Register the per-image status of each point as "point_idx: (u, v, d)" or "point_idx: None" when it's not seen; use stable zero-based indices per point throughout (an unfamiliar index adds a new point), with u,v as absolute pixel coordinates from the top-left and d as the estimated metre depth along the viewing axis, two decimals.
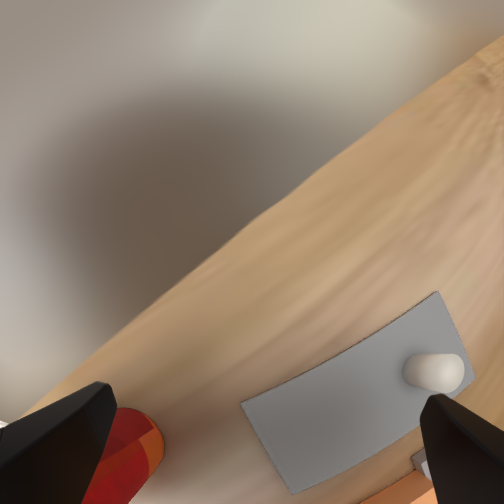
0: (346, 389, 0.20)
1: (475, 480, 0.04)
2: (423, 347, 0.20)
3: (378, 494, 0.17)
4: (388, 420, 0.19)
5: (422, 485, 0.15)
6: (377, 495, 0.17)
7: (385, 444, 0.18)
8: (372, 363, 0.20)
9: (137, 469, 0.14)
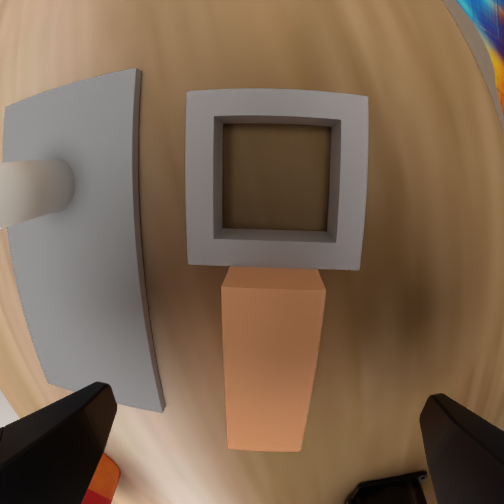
0: (45, 290, 0.14)
1: (475, 480, 0.04)
2: None
3: None
4: (98, 263, 0.13)
5: None
6: None
7: (134, 285, 0.13)
8: (28, 243, 0.13)
9: None
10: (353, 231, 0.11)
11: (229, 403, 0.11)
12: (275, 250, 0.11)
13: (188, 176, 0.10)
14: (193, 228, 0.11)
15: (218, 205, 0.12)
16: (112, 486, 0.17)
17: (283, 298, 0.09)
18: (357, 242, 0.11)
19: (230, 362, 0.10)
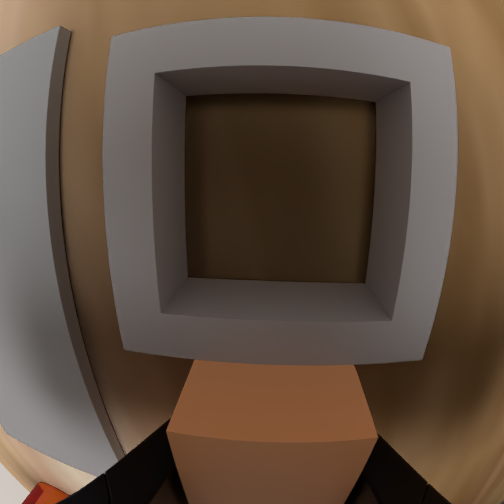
0: None
1: None
2: None
3: None
4: (22, 316, 0.08)
5: None
6: None
7: (68, 353, 0.08)
8: None
9: None
10: (423, 298, 0.05)
11: None
12: (278, 337, 0.06)
13: (108, 194, 0.05)
14: (124, 293, 0.06)
15: (173, 244, 0.06)
16: None
17: (291, 453, 0.04)
18: (427, 317, 0.05)
19: None
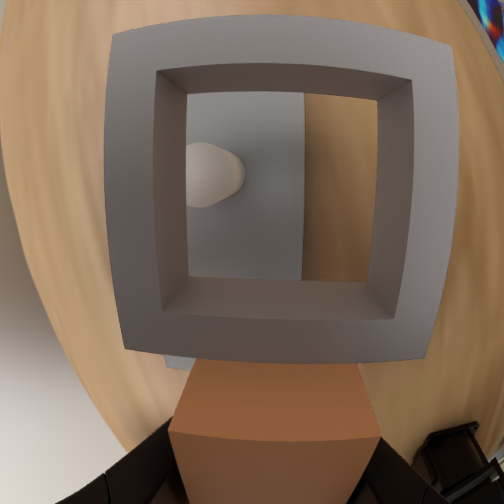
0: (193, 271, 0.18)
1: None
2: None
3: None
4: (264, 242, 0.17)
5: None
6: None
7: (297, 260, 0.17)
8: None
9: None
10: (425, 296, 0.05)
11: None
12: (280, 335, 0.05)
13: (109, 192, 0.05)
14: (125, 291, 0.05)
15: (175, 242, 0.06)
16: None
17: (294, 452, 0.04)
18: (429, 315, 0.05)
19: None
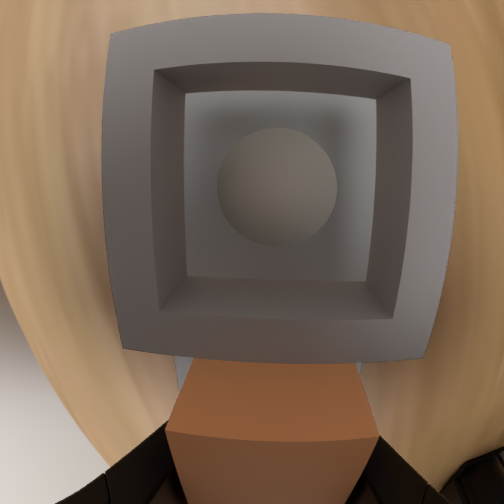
0: None
1: None
2: None
3: None
4: (329, 277, 0.12)
5: None
6: None
7: None
8: (208, 254, 0.12)
9: None
10: (424, 296, 0.05)
11: None
12: (278, 335, 0.05)
13: (107, 191, 0.05)
14: (123, 291, 0.05)
15: (173, 242, 0.06)
16: None
17: (292, 452, 0.04)
18: (428, 315, 0.05)
19: None
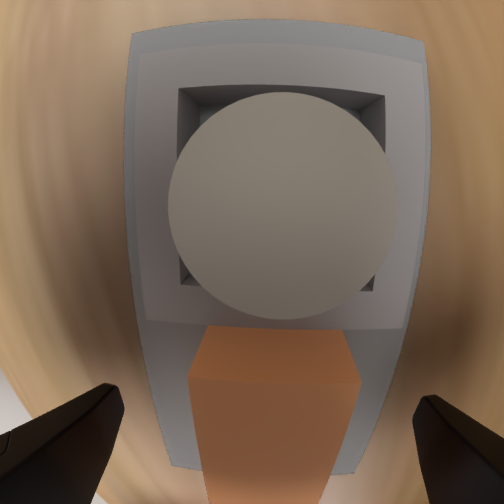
0: None
1: (467, 483, 0.04)
2: None
3: None
4: None
5: None
6: None
7: (396, 341, 0.09)
8: None
9: None
10: (399, 273, 0.06)
11: (213, 496, 0.06)
12: None
13: (139, 186, 0.06)
14: (150, 268, 0.07)
15: None
16: None
17: (290, 395, 0.05)
18: (403, 289, 0.07)
19: (210, 462, 0.06)
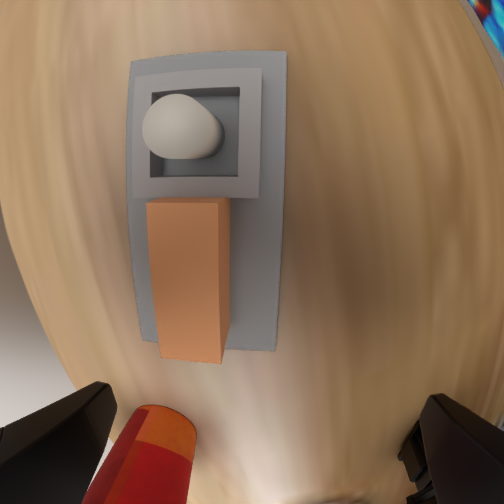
0: None
1: (475, 480, 0.04)
2: None
3: None
4: (243, 205, 0.16)
5: None
6: None
7: (277, 225, 0.17)
8: None
9: (148, 464, 0.16)
10: (251, 167, 0.14)
11: (157, 305, 0.14)
12: (192, 183, 0.14)
13: (134, 134, 0.14)
14: (136, 171, 0.14)
15: (157, 156, 0.15)
16: (193, 450, 0.21)
17: (187, 209, 0.13)
18: (255, 176, 0.14)
19: (154, 265, 0.13)
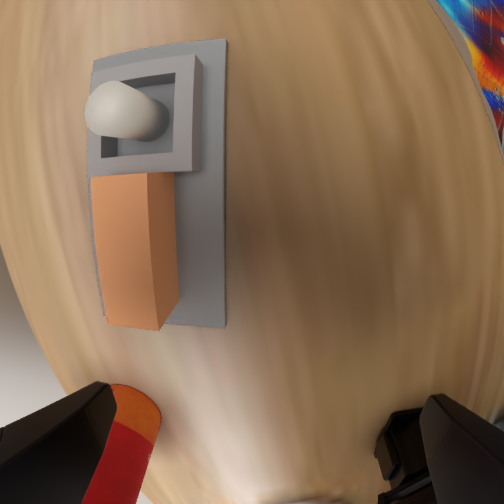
0: None
1: (475, 480, 0.04)
2: None
3: None
4: (185, 182, 0.17)
5: None
6: None
7: (218, 199, 0.17)
8: None
9: None
10: (184, 143, 0.14)
11: (100, 271, 0.14)
12: (135, 161, 0.15)
13: None
14: (90, 153, 0.15)
15: (110, 140, 0.16)
16: (155, 431, 0.21)
17: (122, 180, 0.13)
18: (188, 150, 0.15)
19: (97, 233, 0.14)
